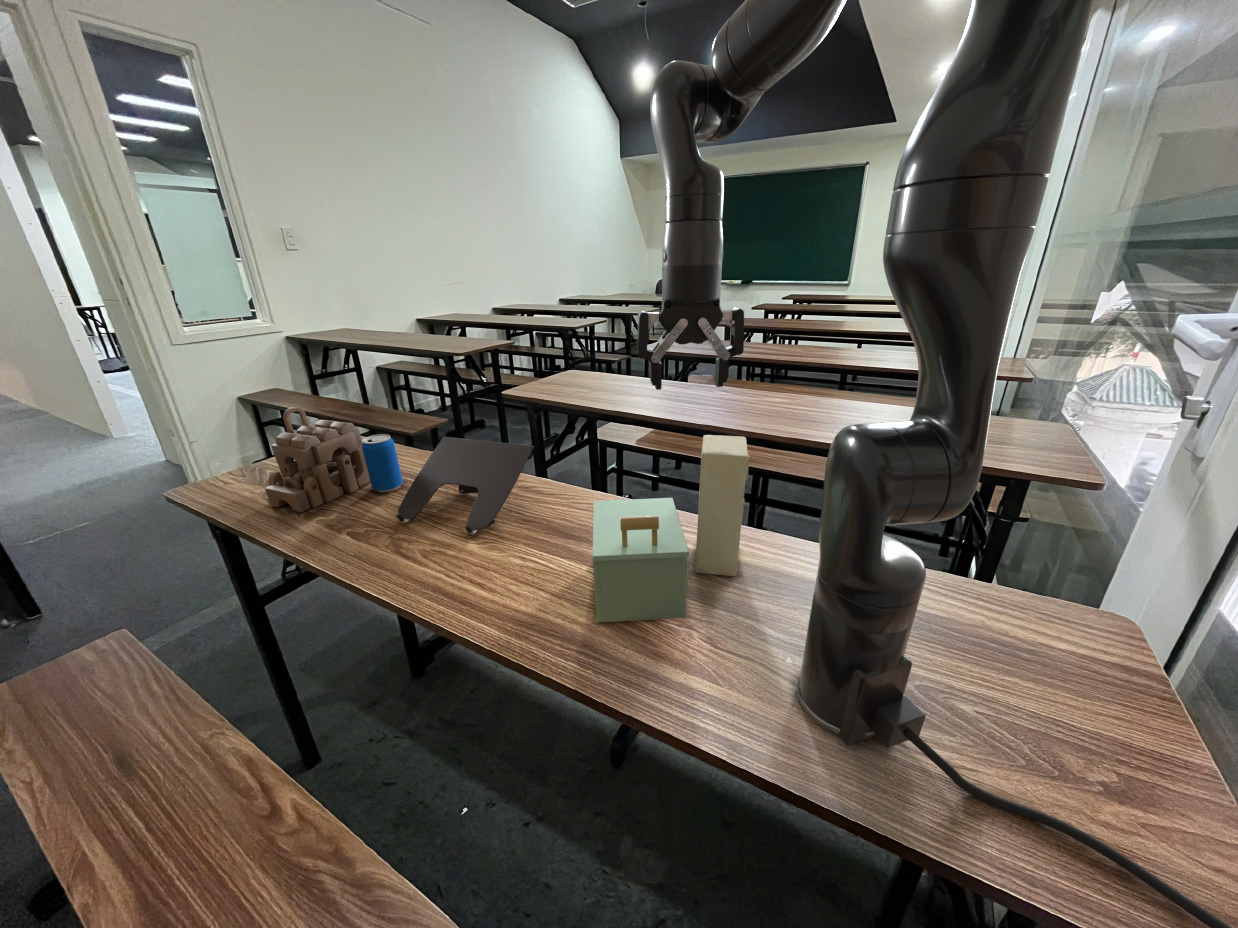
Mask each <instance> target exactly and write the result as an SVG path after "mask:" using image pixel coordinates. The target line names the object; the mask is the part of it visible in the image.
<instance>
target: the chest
mask: <svg viewBox="0 0 1238 928" xmlns="http://www.w3.org/2000/svg"><path fill="white" fill-rule="evenodd" d="M592 563H593V565H592V566H593V580H594V582H593V583H594V598H595V600H594V601H595V614H596V623H613V622H632V621H633V622H634V621H635V622H636V621H651V620H652V621H653V620H672V619H673V620H674V619H686V617H687V594H688V593H687V591H688V567H689V565H688V564H689V557H673V558H651V559H630V560H609V561H593V560H592Z"/></svg>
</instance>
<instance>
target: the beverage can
mask: <svg viewBox="0 0 1238 928" xmlns="http://www.w3.org/2000/svg"><path fill="white" fill-rule="evenodd" d="M361 440H362V446H361V447H362V450H363V454H364V458H365V462H366V466H367V470H368V474H369V477H370V485H371V488H372V490H373V491H377V492H378V493H389V492H393V491H395V490H398V489H399V488H400V487H401V486H402V485H403V483H404V480H403V476H402V471H401V468H400V467H401V466H400V463H399V459H398V454H397V450H396V446H395V441H394V440H393V438H391V435H390V434H386V433H379V434H372V435H368V436H366V437H364V438H363V439H361Z"/></svg>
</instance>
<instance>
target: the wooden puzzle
mask: <svg viewBox="0 0 1238 928" xmlns="http://www.w3.org/2000/svg"><path fill="white" fill-rule="evenodd" d="M294 412H295V413H296V412H297V413H298V415H299V418H300V421H301V424H302V425H301V426H300V427H298V429H296V433H295V431H294V428H293V425H292V421H291V419H290V416H291V414H293V413H294ZM282 418H283V423H284V425H285V429H286V432H283V431H282V432H280V433H279V434H278V435H277V436H276V437H275V443H273V444H271V445H270V447H271V449H272V452H273V455H274V457H275V461H276V463H277V466H278V468H279V471H276V470H272V472H271V473H270V474H269V476H268V485H269V486H266V487H265V488H264V490H265V493H266V496H267V499H268V501H269V504H270V506H272V507H276V508H280V507H282V506H285V505H287V504H288V505H289V506H290V507H291V509H292V511H293V512H298V513H304V512H306V511H307V510H309V509H311V507H312V508H317V507H319V506H321V505H323V504H324V503H330V502H331V501H333V500H336V499H338V498H339V497H341V496H344V495H345V492H346V493H350V494H351V493H353V492H355V491H357V490H359V488H360V487H362V486H364V485H366V484H368V483H371V481H370V477H369V474H368V470H367V466H366V462H365V458H364V454H363V450H362V444H363V442H362V440H363V439H362V436H361V432H360V429H359V428H357V427H356V426H355V425H354V423H352V422H346V421H345V422H344V421H337V420H329V419H319V420H318V421H317V422H316V423H314V426H312V425H309V420H308V418H307V414H306V411H305V410H304V409H303V408H302V407H299V406H292V407H289V408H287V409H285V410H284V412H283V415H282Z"/></svg>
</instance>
